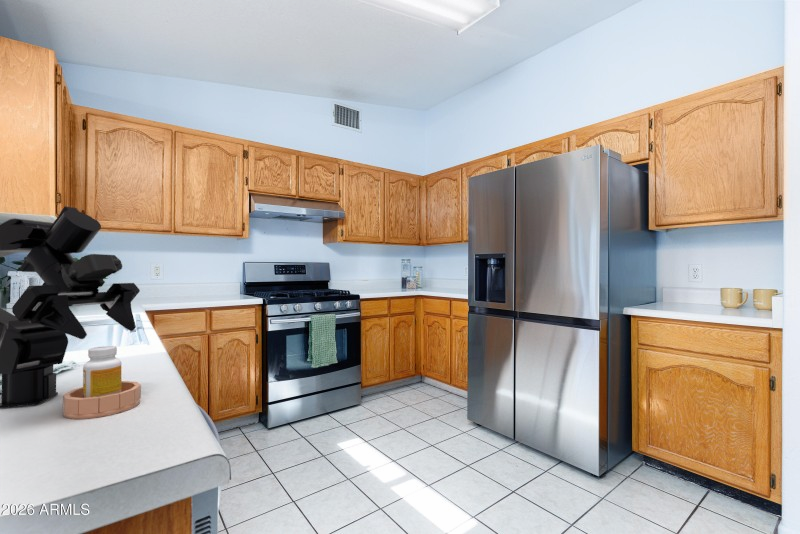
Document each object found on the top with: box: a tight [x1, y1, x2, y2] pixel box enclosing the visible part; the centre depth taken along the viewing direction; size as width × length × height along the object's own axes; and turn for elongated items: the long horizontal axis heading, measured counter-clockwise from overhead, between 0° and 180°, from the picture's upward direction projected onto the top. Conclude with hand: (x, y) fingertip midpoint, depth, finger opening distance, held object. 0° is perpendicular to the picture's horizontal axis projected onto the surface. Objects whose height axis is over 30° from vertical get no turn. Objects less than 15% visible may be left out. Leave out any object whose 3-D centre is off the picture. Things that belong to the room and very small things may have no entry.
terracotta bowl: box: [62, 380, 142, 420], centre depth 68 cm, size 11×11×3 cm
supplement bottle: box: [82, 345, 122, 398], centre depth 68 cm, size 5×5×10 cm
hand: (110, 332), depth 68 cm, fingers open, 9 cm apart
